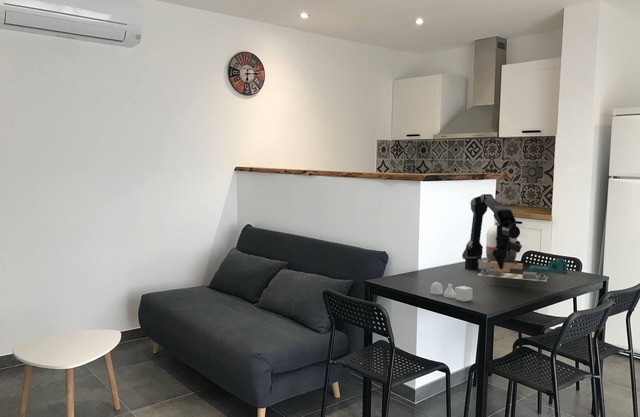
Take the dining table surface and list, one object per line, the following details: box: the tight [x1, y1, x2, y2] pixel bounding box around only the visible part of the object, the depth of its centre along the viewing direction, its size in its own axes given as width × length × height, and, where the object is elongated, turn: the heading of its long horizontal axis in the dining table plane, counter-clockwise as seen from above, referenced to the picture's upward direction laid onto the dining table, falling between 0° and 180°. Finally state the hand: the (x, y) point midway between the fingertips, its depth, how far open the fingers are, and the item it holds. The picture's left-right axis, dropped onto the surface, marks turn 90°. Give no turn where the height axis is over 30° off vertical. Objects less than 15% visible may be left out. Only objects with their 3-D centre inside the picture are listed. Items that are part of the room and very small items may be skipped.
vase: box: [485, 221, 518, 263], centre depth 307 cm, size 17×17×24 cm
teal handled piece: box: [529, 258, 568, 275], centre depth 277 cm, size 18×7×8 cm, turn 42°
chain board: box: [477, 271, 549, 282], centre depth 263 cm, size 32×12×1 cm, turn 63°
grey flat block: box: [522, 271, 547, 280], centre depth 258 cm, size 10×6×2 cm, turn 63°
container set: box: [430, 281, 473, 302], centre depth 225 cm, size 20×5×6 cm, turn 35°
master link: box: [481, 259, 524, 273], centre depth 249 cm, size 18×4×5 cm, turn 64°
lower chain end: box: [480, 268, 504, 276], centre depth 267 cm, size 10×6×2 cm, turn 63°
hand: (501, 268), depth 249 cm, fingers closed on master link, 4 cm apart
